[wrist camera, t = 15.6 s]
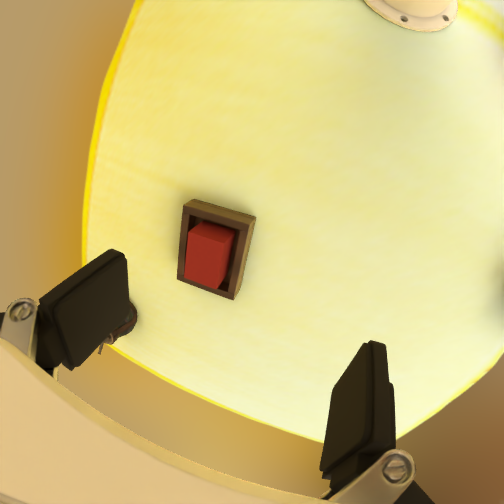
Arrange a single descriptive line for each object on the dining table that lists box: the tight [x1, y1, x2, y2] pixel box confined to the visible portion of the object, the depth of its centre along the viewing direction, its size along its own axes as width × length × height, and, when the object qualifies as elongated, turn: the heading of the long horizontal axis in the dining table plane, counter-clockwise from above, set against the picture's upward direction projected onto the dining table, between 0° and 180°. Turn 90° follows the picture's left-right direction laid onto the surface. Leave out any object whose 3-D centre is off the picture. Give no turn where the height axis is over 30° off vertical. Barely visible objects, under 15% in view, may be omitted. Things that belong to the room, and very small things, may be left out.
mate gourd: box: [98, 301, 137, 354], centre depth 45 cm, size 7×8×10 cm
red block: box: [184, 221, 236, 289], centre depth 35 cm, size 6×4×4 cm
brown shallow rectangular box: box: [177, 199, 256, 300], centre depth 36 cm, size 11×8×3 cm
